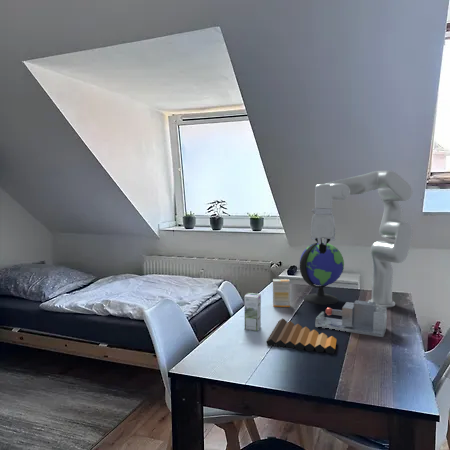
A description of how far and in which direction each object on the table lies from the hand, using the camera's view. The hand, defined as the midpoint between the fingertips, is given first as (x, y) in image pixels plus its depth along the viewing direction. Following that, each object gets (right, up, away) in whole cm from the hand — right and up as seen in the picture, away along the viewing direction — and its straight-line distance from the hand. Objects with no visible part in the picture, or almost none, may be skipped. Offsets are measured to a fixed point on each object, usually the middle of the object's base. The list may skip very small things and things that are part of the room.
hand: (322, 253), depth 189 cm
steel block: (+14, -29, -14) cm, 35 cm away
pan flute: (-13, -32, -23) cm, 41 cm away
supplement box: (-16, -28, +20) cm, 38 cm away
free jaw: (+5, -28, -10) cm, 30 cm away
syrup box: (-32, -31, -12) cm, 46 cm away
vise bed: (+9, -30, -12) cm, 34 cm away
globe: (+6, -26, +30) cm, 40 cm away
